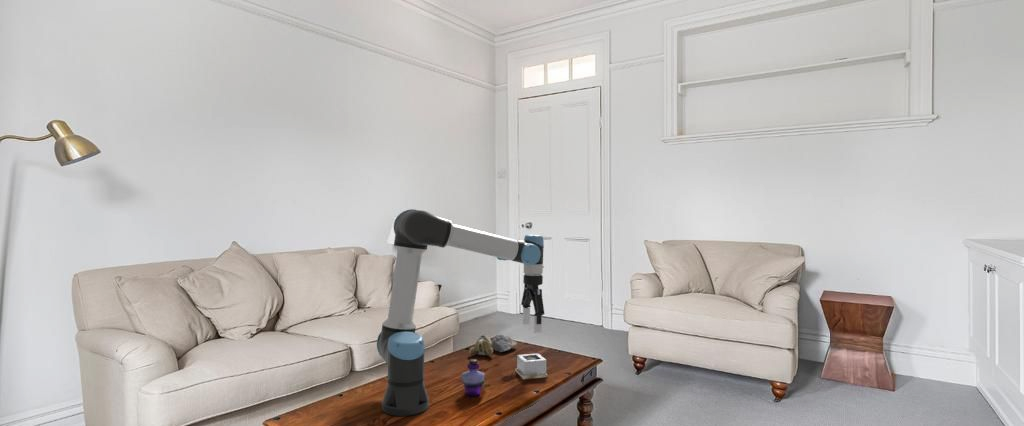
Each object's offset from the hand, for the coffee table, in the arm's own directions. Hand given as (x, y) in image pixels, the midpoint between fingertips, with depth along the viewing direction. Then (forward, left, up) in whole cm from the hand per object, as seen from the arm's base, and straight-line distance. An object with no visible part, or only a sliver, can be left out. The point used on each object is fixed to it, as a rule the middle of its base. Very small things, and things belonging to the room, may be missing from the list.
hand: (531, 328), depth 208 cm
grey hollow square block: (0, 0, -17) cm, 17 cm away
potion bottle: (-27, -15, -18) cm, 36 cm away
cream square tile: (0, 0, -18) cm, 18 cm away
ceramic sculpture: (-12, +30, -19) cm, 37 cm away
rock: (-1, +36, -19) cm, 41 cm away
